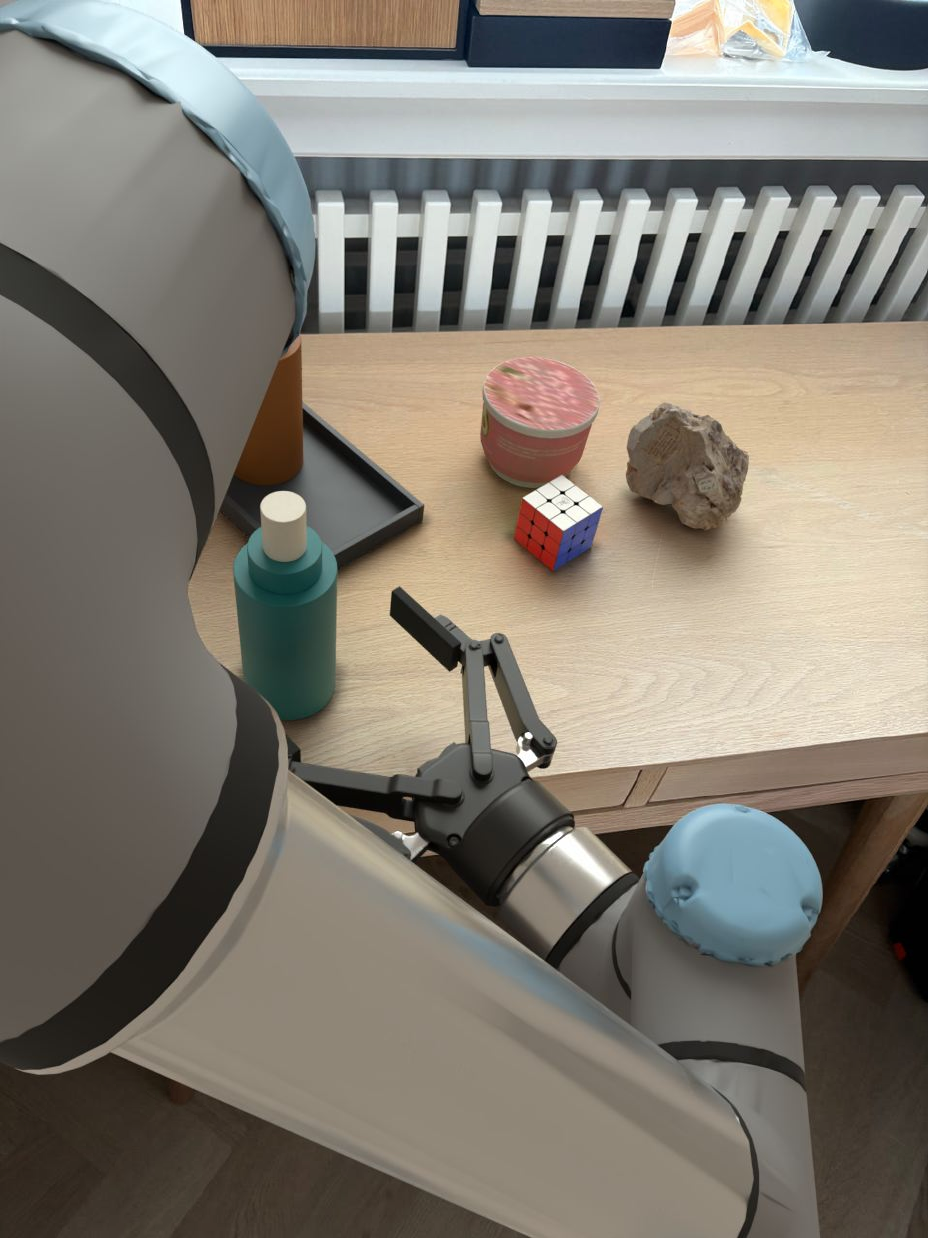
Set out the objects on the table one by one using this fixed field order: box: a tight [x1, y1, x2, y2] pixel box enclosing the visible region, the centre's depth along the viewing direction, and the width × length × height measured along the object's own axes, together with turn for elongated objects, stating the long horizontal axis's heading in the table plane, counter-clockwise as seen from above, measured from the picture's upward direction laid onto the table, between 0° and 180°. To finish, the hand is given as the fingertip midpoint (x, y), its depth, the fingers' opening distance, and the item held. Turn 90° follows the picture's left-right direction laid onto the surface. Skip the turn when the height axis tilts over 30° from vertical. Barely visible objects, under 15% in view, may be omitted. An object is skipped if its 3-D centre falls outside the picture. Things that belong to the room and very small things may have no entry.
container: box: [479, 356, 601, 489], centre depth 94 cm, size 10×10×8 cm
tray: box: [219, 401, 425, 571], centre depth 92 cm, size 13×28×2 cm, turn 43°
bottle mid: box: [234, 334, 303, 485], centre depth 85 cm, size 7×7×19 cm
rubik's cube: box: [513, 475, 604, 572], centre depth 88 cm, size 5×5×5 cm
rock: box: [625, 402, 750, 531], centre depth 92 cm, size 9×12×10 cm
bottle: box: [232, 491, 338, 721], centre depth 71 cm, size 7×7×19 cm
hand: (318, 646), depth 70 cm, fingers open, 13 cm apart
